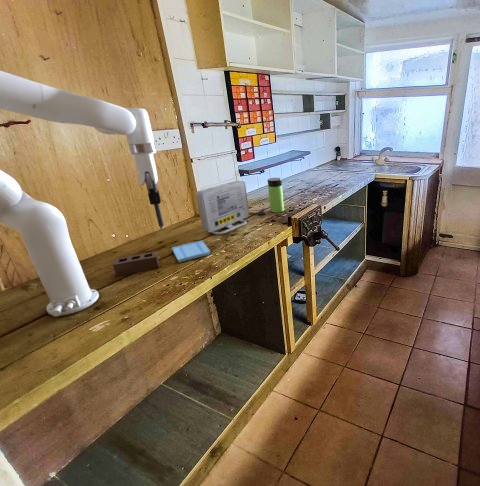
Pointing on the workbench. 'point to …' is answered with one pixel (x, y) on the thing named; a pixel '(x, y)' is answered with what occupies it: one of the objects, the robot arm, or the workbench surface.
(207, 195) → the network device
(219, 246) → the workbench surface
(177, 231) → the workbench surface
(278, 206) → the tumbler
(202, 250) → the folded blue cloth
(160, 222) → the stylus
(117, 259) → the pen stand
